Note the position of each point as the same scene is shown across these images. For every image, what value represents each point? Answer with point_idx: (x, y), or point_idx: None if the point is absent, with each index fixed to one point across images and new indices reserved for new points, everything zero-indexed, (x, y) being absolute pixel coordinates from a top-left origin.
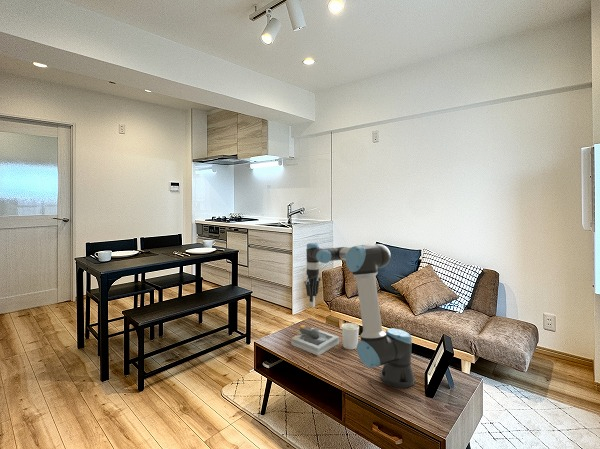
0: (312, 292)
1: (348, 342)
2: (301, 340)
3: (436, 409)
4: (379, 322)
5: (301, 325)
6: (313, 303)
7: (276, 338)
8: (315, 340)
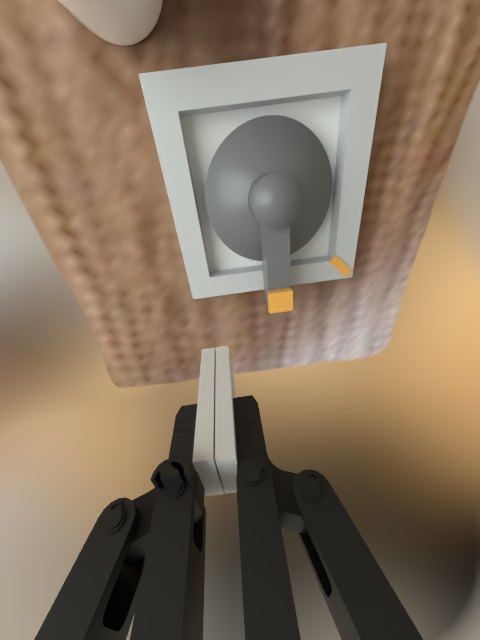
0: (273, 562)
1: None
2: (346, 224)
3: None
4: None
5: (281, 310)
6: (228, 372)
7: (328, 339)
8: (300, 164)
